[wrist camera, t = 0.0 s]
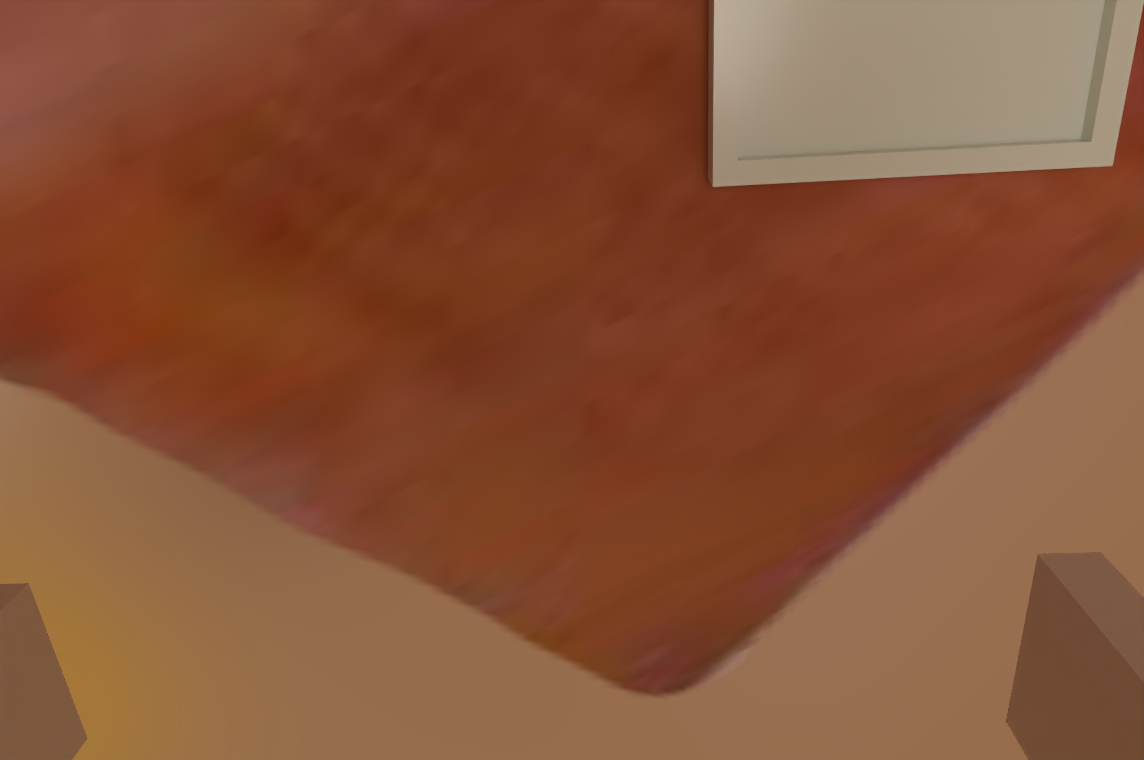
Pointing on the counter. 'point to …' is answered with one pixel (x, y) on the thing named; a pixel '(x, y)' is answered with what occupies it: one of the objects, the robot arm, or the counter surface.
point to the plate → (913, 87)
